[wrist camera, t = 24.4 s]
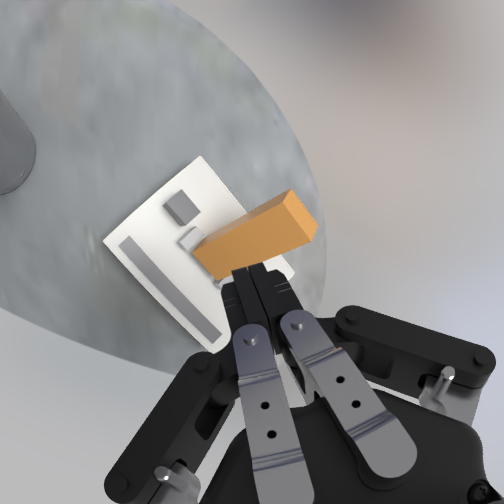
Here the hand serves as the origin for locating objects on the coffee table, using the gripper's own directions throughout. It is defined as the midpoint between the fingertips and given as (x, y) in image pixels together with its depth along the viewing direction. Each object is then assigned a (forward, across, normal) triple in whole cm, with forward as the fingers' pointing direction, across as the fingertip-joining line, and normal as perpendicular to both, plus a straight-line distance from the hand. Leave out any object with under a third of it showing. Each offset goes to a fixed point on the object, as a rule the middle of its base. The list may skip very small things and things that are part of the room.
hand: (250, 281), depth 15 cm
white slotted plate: (+22, -4, -12) cm, 26 cm away
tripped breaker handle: (+17, -2, -9) cm, 19 cm away
